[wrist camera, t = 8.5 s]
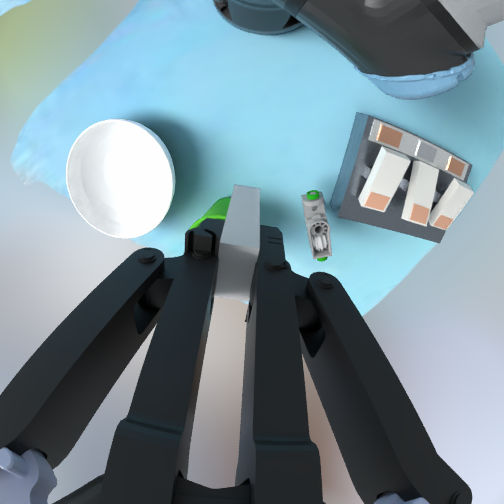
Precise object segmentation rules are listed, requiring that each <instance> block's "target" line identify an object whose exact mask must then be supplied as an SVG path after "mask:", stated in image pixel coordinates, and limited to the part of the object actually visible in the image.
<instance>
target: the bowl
mask: <svg viewBox="0 0 504 504" xmlns="http://www.w3.org/2000/svg"><path fill="white" fill-rule="evenodd" d="M66 182H67V187H68V191H69V195H70V197H71V200H72V202H73V204H74V206H75V207H76V209H77V211H78V212H79V214H80V215H81V216H82V217H83V218H84V220H85V221H86V222H88V223H89V224H90V225H91V226H92V227H93V228H95V229H97V230H98V231H100V232H102V233H104V234H107V235H109V236H113V237H117V238H134V237H139V236H142V235H144V234H146V233H149V232H150V231H151V230H153V229H154V228H155V227H157V226H158V225H159V223H160V222H161V221H162V220H163V219H164V217H165V215H166V214H167V212H168V210H169V208H170V205H171V203H172V199H173V196H174V192H175V182H176V181H175V170H174V166H173V162H172V158H171V155H170V153H169V151H168V149H167V147H166V146H165V144H164V143H163V142H162V140H161V139H160V138H159V137H158V136H157V135H156V134H155V133H154V132H153V131H151V130H150V129H149V128H147V127H145V126H144V125H142V124H140V123H138V122H135V121H131V120H128V119H110V120H105V121H100V122H98V123H96V124H94V125H92V126H90V127H89V128H87V129H86V130H85V131H84V132H82V133H81V135H80V136H79V137H78V138H77V140H76V141H75V143H74V144H73V146H72V148H71V150H70V153H69V157H68V160H67V167H66Z"/></svg>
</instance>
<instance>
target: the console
mask: <svg viewBox="0 0 504 504" xmlns="http://www.w3.org/2000/svg"><path fill="white" fill-rule="evenodd" d="M382 146H383V147H386V148H389V149H391V150H394V151H397V152H399V153H402V154H404V155H406V156H407V157H408V158H409V160H410V161H411V162H410V164H409V166H408V168H407V170H406V172H405V174H404V176H403V178H402V180H401V182H400V184H399V186H398V188H397V190H396V192H395V193H394V195H393V197H392V199H391V201H390V203H389V205H388V206H387V208H386V210H385V212H381V211H377V210H374V209H370V208H366V207H362V206H361V205H360V202H359V200H358V198H359V196H360V194H361V192H362V190H363V188H364V185H365V183H366V181H367V179H368V177H369V174H370V172H371V170H372V168H373V166H374V163H375V161H376V159H377V156H378V154H379V152H380V149H381V147H382ZM413 161H421V162H423V163H426V164H428V165H430V166H432V167H434V168H437V169H439V173H438V179H437V184H436V189H435V193H434V198H433V202H432V207H431V211H430V213H431V212H432V210H433V209H434V208H435V206H436V205H437V203H438V202H439V200H440V199H441V197H442V196H443V195H444V193H445V191H446V190H447V188H448V187H449V185H450V184H451V182H452V181H453V179H454V178H456V179H458V180H460V181H462V182H464V183H466V182H467V179H468V176H469V173H470V170H471V167H472V165H471V164H470V163H468V162H466V161H465V160H463V159H461V158H459V157H458V156H456V155H454V154H452V153H451V152H449V151H447V150H445V149H443V148H441V147H439V146H437V145H435V144H433V143H431V142H429V141H427V140H425V139H423V138H421V137H419V136H417V135H415V134H413V133H410V132H408V131H406V130H404V129H401V128H399V127H397V126H394V125H392V124H389V123H387V122H384V121H382V120H379V119H377V118H374V117H371V116H369V115H365V114H361V113H357V112H356V116H355V120H354V124H353V128H352V131H351V135H350V139H349V142H348V146H347V149H346V153H345V156H344V160H343V163H342V166H341V170H340V173H339V176H338V180H337V183H336V186H335V189H334V193H333V196H332V199H331V202H330V205H331V207H332V209H333V210H334V212H335V214H336V216H337V217H339V218H344V219H348V220H352V221H356V222H361V223H365V224H369V225H373V226H377V227H381V228H385V229H389V230H393V231H397V232H400V233H404V234H408V235H412V236H415V237H419V238H422V239H426V240H430V241H433V242H437V243H440V242H441V240H442V238H443V236H444V234H445V231H446V230H443V229H440V228H437V227H434V226H431V225H430V223H429V221H428V223H427V226H423V225H419V224H416V223H413V222H410V221H407V220H404V219H402V218H401V217H402V213H403V209H404V205H405V200H406V196H407V192H408V187H409V182H410V177H411V172H412V167H413Z"/></svg>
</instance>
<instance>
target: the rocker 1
mask: <svg viewBox="0 0 504 504" xmlns="http://www.w3.org/2000/svg"><path fill="white" fill-rule="evenodd" d="M410 162H411V161H410V160H409V158H408V157H407V156H406V155H404V154H402V153H399V152H397V151H394V150H391V149H389V148H386V147H383V146H382V147H381V149H380V152H379V154H378V156H377V159H376V161H375V163H374V166H373V168H372V170H371V172H370V174H369V177H368V179H367V181H366V183H365V185H364V188H363V190H362V192H361V194H360V196H359V198H358V200H359V202H360V205H361V206H362V207H366V208H370V209H374V210H377V211H381V212H385V210H386V208H387V206H388V205H389V203H390V201H391V199H392V197H393V195H394V193H395V192H396V190H397V188H398V186H399V184H400V182H401V180H402V178H403V176H404V174H405V172H406V170H407V168H408V166H409V164H410Z"/></svg>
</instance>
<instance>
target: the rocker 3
mask: <svg viewBox="0 0 504 504" xmlns="http://www.w3.org/2000/svg"><path fill="white" fill-rule="evenodd" d="M473 194H474V191H473V190H472V189H471V187H470V186H469V185H468V184H466V183H464V182H462V181H460V180H458V179H456V178H454V179H453V181H452V182H451V184H450V185H449V187H448V188H447V190H446V191H445V193H444V195H443V196H442V197H441V199H440V200H439V202H438V203H437V205H436V206H435V208H434V209H433V210H432V212H431V213H430V215H429V219H428V221H429V223H430V225H431V226H434V227H437V228H440V229H443V230H447V229H448V228H449V226H450V225H451V224H452V222H453V221H454V220H455V218H456V217H457V216H458V214H459V213H460V212H461V210H462V209H463V208H464V206H465V205H466V204H467V202H468V201H469V199H470V198H471V197H472V195H473Z"/></svg>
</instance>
